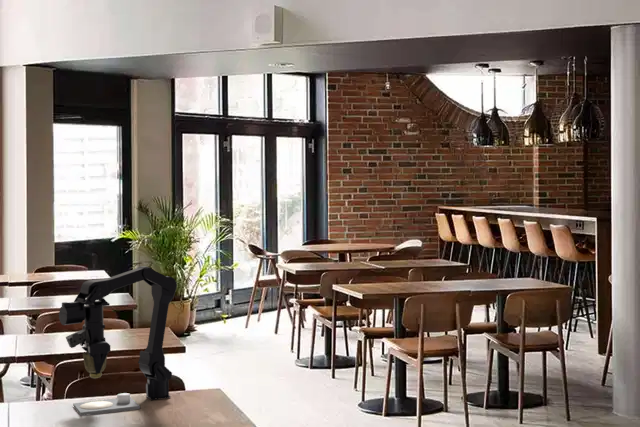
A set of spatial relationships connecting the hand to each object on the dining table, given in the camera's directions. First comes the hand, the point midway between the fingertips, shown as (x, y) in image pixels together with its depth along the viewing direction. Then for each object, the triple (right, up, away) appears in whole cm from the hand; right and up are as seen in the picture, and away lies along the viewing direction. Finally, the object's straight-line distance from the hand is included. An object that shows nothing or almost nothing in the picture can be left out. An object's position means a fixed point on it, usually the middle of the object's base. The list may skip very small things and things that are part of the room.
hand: (95, 371), depth 298 cm
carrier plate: (+3, -12, +2) cm, 12 cm away
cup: (0, -2, 0) cm, 2 cm away
